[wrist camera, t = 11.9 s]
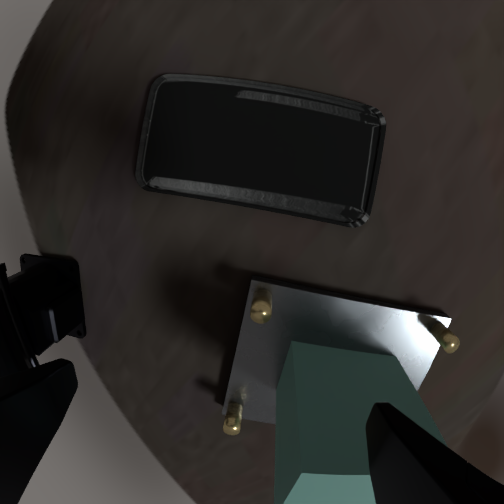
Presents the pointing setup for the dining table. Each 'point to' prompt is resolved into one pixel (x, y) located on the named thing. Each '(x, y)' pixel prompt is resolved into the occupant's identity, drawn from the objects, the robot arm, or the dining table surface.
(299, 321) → the chassis
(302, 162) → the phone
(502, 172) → the dining table surface
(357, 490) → the teal rectangular block
